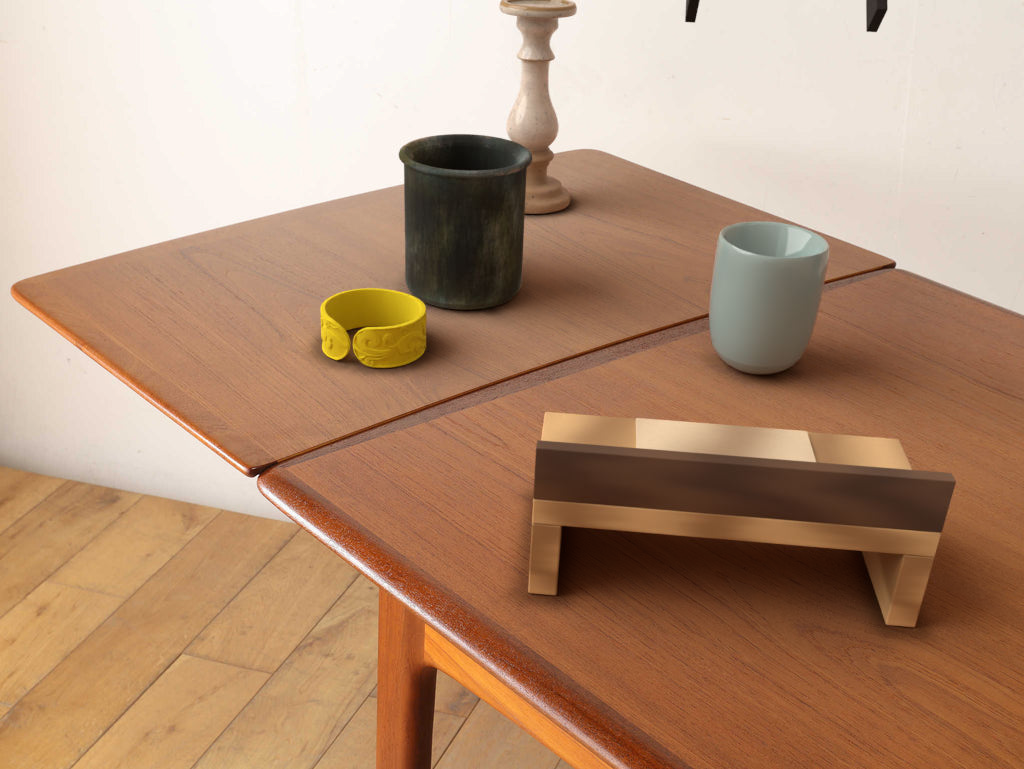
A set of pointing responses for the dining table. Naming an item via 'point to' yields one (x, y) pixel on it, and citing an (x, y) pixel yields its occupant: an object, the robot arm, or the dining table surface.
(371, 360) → the bracelet
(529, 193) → the candle holder
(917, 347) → the dining table surface
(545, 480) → the shelf
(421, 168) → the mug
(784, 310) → the cup
